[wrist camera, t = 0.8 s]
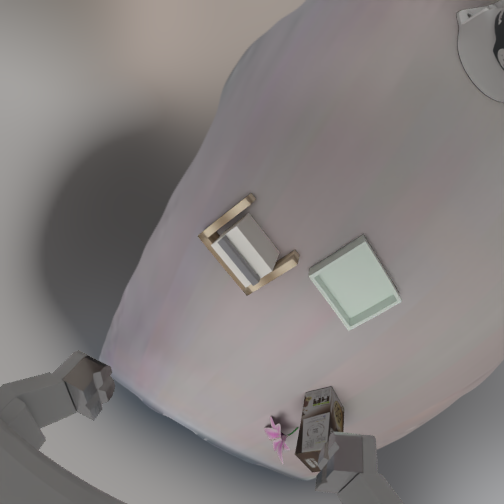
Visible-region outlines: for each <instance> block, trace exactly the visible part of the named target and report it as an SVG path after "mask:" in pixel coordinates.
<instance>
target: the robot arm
mask: <svg viewBox="0 0 504 504" xmlns="http://www.w3.org/2000/svg"><path fill="white" fill-rule="evenodd" d="M468 15H469V16H470V17H468ZM457 21H458V24H459V35H458V52H459V56H460V59H461V62H462V64H463V67H464V69H465V71H466V72H467V74H468V76H469V77H470V79H471V80H472V81H473V83H474V84H475V85H476V86H477V87H478V88H479V89H480V90H481V91H482V92H483V93H484V94H485V95H487V96H488V97H490V98H492V99H494V100H496V101H499V102H503V103H504V0H501V1H498V2H496V3H495V5H494V4H491V5H488V6H485V7H478V8H471V9H465V10H461V11H459V12H457ZM111 374H112V370H111V367H110V366H108V365H106V364H104V363H102V362H100V361H98V360H96V359H94V358H92V357H90V356H88V355H87V354H85V353H83V352H81V351H79V350H78V351H75V352H74V353H73V354H72V355H71V356H70V357H69V358H68V359H67V360H66V361H65V362H64V363H63V364H61V365H60V367H58V368H57V369H56V370H55V371H54V372H53V373H52V374H51V373H50V372H49V373H45V374H42V375H38V376H34V377H30V378H26V379H23V380H19V381H15V382H11V383H7V384H3V385H2V386H1V387H0V504H127V503H124V502H122V501H120V500H118V499H116V498H114V497H112V496H110V495H109V494H107V493H105V492H103V491H101V490H99V489H97V488H96V487H94V486H92V485H90V484H88V483H87V482H85V481H84V480H82V479H80V478H79V477H77V476H75V475H74V474H72V473H71V472H69V471H67V470H66V469H64V468H63V467H61V466H60V465H58V464H57V463H56V462H54V461H53V460H51V459H50V458H48V457H47V456H45V455H44V454H43V453H41V452H40V451H39V449H40V447H41V446H42V445H43V443H44V442H45V441H46V440H45V436H44V435H43V433H42V432H41V430H40V428H42V427H45V426H47V425H49V424H52V423H54V422H56V421H59V420H61V419H63V418H66V417H68V416H70V415H72V414H74V413H76V411H77V412H79V413H80V414H82V415H84V416H86V417H88V418H90V419H92V420H95V418H96V417H97V416H98V414H99V413H100V412H101V410H102V404H103V403H106V402H108V401H109V400H110V398H111V397H112V395H113V392H114V389H115V384H114V380H113V379H112V377H111V376H110V375H111ZM318 467H319V468H320V470H321V471H320V472H319V473H318V475H317V476H316V486H315V491H320V492H329V493H337V495H338V497H339V499H340V501H341V503H342V504H404V503H403V502H402V500H401V499H400V498H399V496H398V495H397V494H396V493H395V491H394V490H393V489H392V487H391V486H390V485H389V483H388V482H387V481H386V479H385V478H384V477H383V475H382V474H378V468H377V451H376V438H375V437H374V436H371V435H360V434H352V433H343V432H332V433H331V434H330V436H329V442H326V443H325V444H324V445H323V447H322V449H321V452H320V454H319V459H318Z"/></svg>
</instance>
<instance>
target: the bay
mask: <svg viewBox="0 0 504 504" xmlns="http://www.w3.org/2000/svg"><path fill="white" fill-rule="evenodd" d="M255 200H256V199H255V197H254V196H253V195H252V194H249V195H248V196H247V197H246V198H244V199H243V200H242V201H240V202H239V203H238V204H237V205H235V206H234V207H233V208H232V209H230V210H229V211H228V212H226V213H225V214H224V215H223V216H221V217H220V218H219V219H218V220H216V221H215V222H214V223H213V224H211V225H210V226H209V227H208V228H206V229H205V230H204V231H203V232H202V233H201V234H199V235H198V237H199V238H200V240H201V241H202V242H203V243H204V244H205V246H206V247H207V248H208V249H209V251H210V252H211V253H212V254H213V256H214V257H215V258H216V259H217V260H218V262H219V263H220V264H221V265H222V266H223V268H224V269H225V270H226V271H227V272H228V274H229V275H230V276H231V277H232V278H233V280H234V281H235V282H236V283H237V284H238V286H239V287H240V288H241V289H242V290H243V292H244V293H245V294H246V295H249V294H251V293H252V292H254V291H256V290H257V289H259V288H261V287H262V286H264V285H266V284H267V283H269V282H270V281H272V280H274V279H275V278H277V277H279V276H280V275H282V274H283V273H285V272H287V271H288V270H290V269H291V268H293V267H295V266H296V265H297V264H298V260H299V254H298V253H297V252H296V250H294V251H293V252H291V253H289V254H288V255H286V256H285V257H283V258H282V259H280V260H279V261H277V262H276V263H275V266H274V268H273V271H272V272H270V273H269V274H267V275H265V276H264V277H262V278H261V279H260V281H259V283H257V284H256V285H254V286H253V285H252V284H251V285H249V286H248V287H246V288H245V286H244V285H243V284H242V283H241V282H240V280H239V279H238V278H237V277H236V276H235V274H234V273H233V272H232V271H231V270H230V268H229V267H228V266H227V265H226V264H225V262H224V261H223V260H222V259H221V257H220V256H219V255H218V254H217V253H216V251H215V250H214V249H213V248H212V246H211V245H212V244H213V243H214V242H215V241H216V240H217V239H218V238H219V237H220V236H219V235H218V233H217V232H216V231H217V230H218V229H219V228H221V227H222V226H223V225H225V224H226V223H227V222H228V221H230V220H231V219H232V218H234V217H235V216H236V215H238V214H239V213H240V212H241V211H243V210H244V209H245V208H247V207H248V206H249V205H251V204H252V203H253V202H254V201H255Z"/></svg>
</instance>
